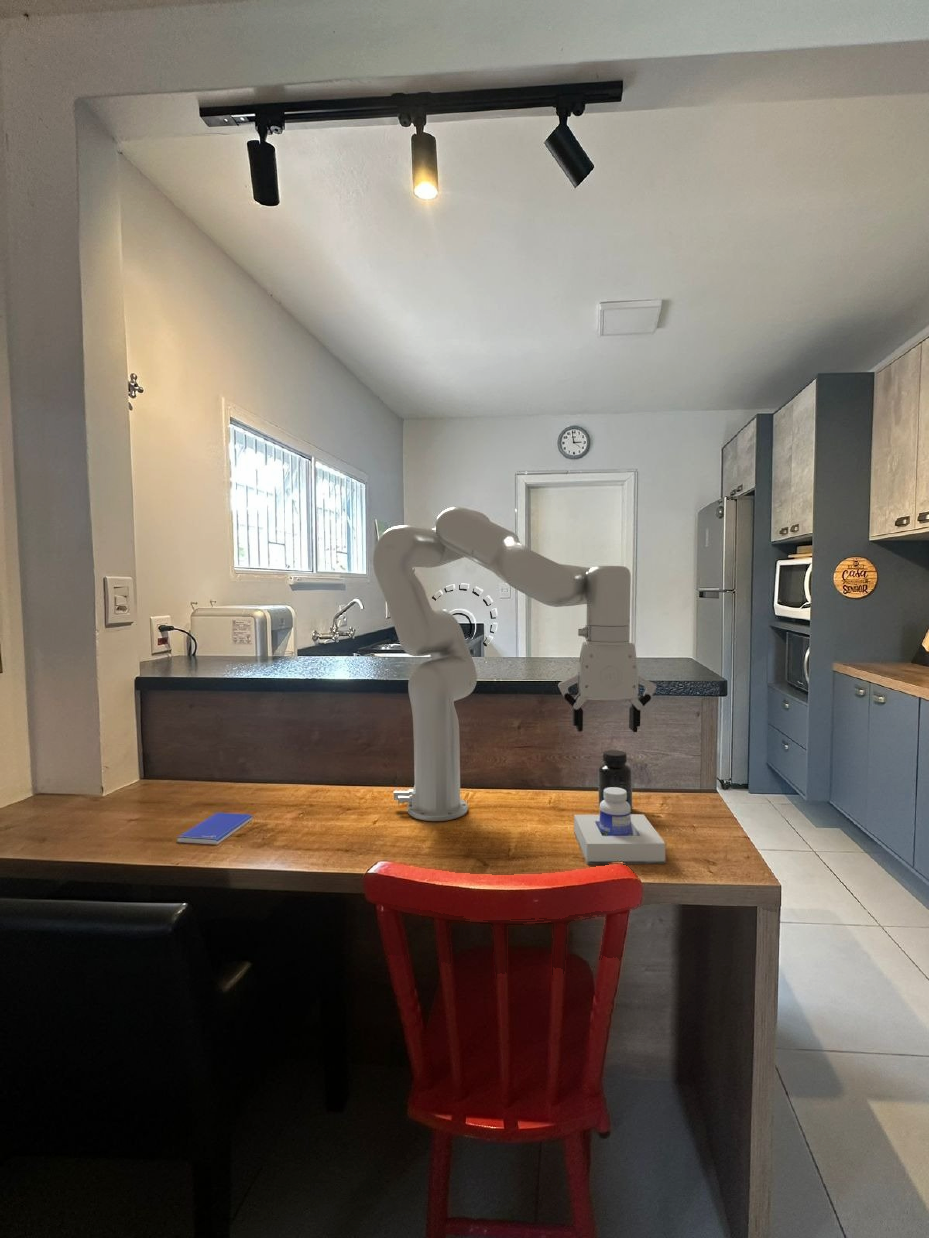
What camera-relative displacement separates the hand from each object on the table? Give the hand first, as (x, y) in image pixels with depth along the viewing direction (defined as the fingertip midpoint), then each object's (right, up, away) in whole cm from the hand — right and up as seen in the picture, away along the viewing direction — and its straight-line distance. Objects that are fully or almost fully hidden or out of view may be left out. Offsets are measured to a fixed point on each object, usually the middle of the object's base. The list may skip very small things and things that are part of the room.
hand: (606, 730), depth 109 cm
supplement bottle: (+6, -20, +17) cm, 27 cm away
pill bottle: (+1, -20, -1) cm, 20 cm away
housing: (+2, -21, -1) cm, 21 cm away
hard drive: (-74, -22, +9) cm, 78 cm away
